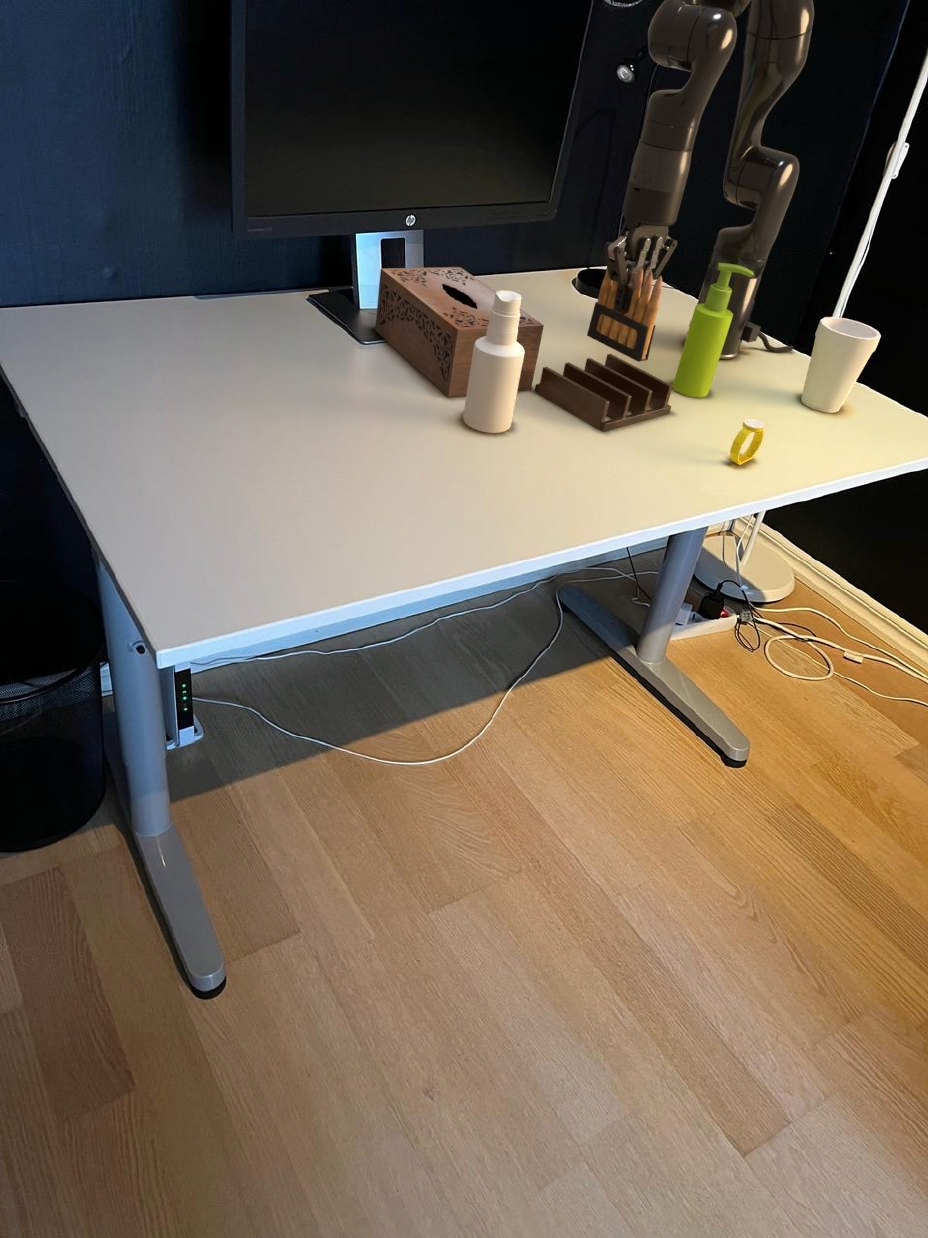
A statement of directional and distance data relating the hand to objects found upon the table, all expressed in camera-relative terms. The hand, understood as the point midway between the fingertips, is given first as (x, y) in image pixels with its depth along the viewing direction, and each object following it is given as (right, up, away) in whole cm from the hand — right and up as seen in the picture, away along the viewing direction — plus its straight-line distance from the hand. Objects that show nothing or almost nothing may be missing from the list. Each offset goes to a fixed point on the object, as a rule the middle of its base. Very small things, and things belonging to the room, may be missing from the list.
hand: (625, 310), depth 134 cm
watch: (+16, -22, -1) cm, 27 cm away
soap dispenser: (+14, -7, +18) cm, 24 cm away
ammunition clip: (-1, -5, +4) cm, 6 cm away
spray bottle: (-20, -17, -3) cm, 26 cm away
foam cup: (+36, -9, +21) cm, 43 cm away
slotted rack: (-2, -11, +8) cm, 14 cm away
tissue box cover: (-25, -3, +14) cm, 29 cm away
